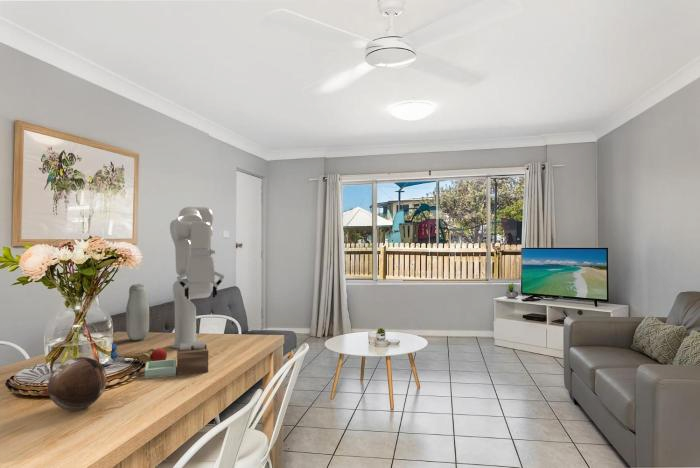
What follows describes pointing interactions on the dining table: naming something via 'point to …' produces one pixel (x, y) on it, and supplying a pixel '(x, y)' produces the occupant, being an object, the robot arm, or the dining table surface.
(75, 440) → the dining table surface
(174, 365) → the tray
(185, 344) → the chip
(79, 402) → the wooden sphere
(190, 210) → the robot arm
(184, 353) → the slot block
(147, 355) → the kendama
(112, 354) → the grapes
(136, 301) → the grey bottle vase
